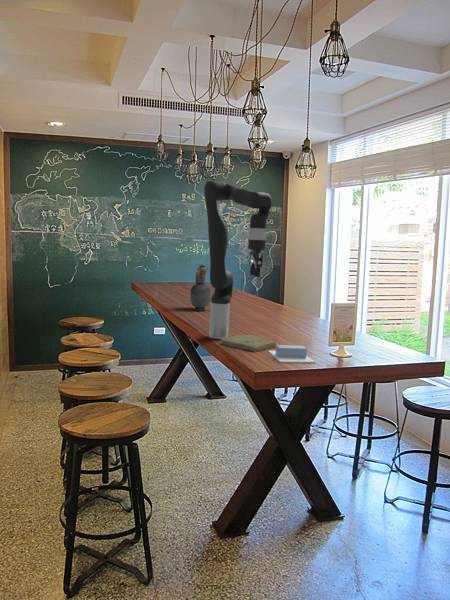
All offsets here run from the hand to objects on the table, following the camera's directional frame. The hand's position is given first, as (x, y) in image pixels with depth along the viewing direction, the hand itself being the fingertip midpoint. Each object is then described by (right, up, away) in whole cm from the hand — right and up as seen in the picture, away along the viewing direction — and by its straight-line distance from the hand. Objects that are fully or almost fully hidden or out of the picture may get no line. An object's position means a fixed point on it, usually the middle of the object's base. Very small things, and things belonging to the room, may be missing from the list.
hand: (254, 276), depth 232 cm
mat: (+15, -35, -6) cm, 39 cm away
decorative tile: (-2, -32, +14) cm, 35 cm away
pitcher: (-30, -17, +113) cm, 118 cm away
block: (+15, -35, -6) cm, 38 cm away
